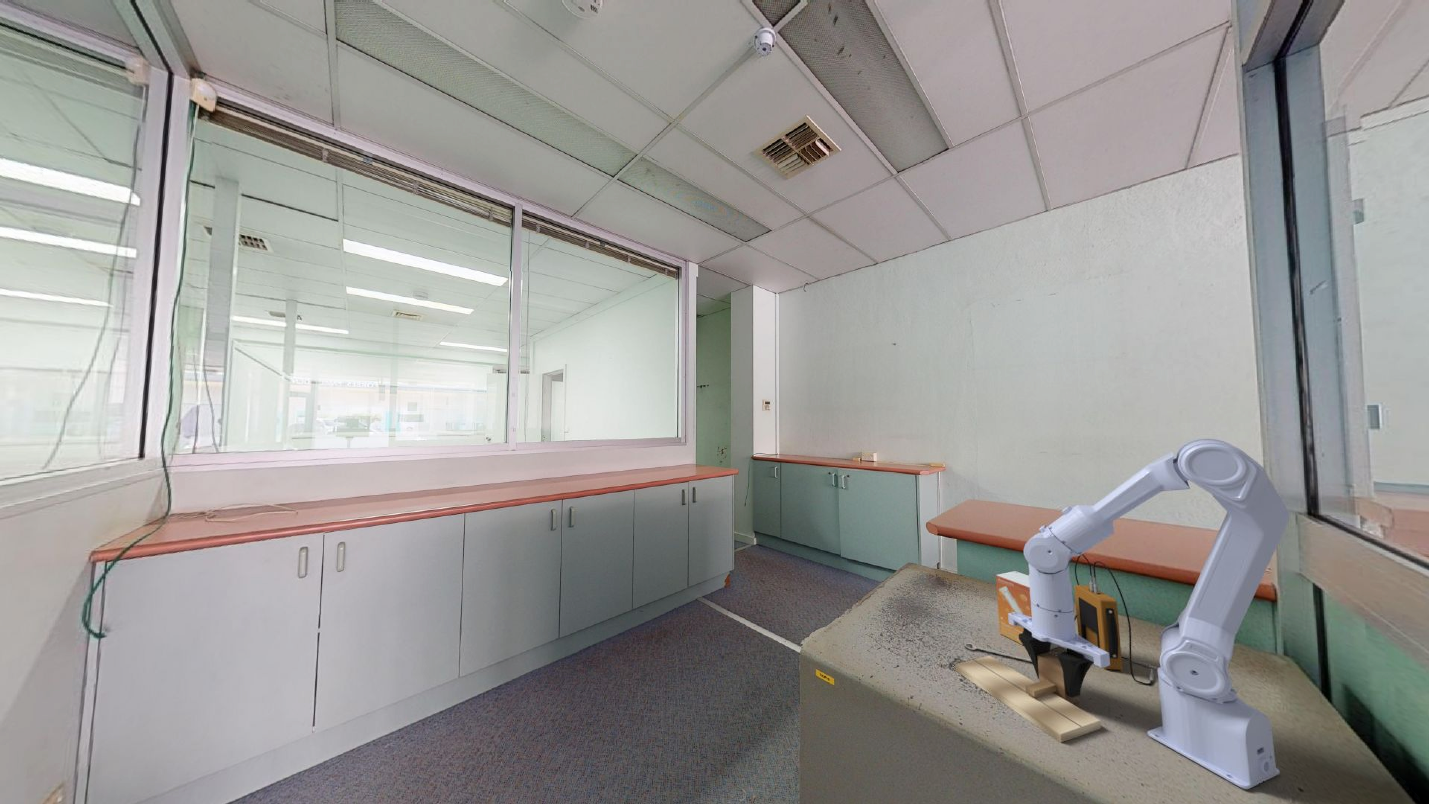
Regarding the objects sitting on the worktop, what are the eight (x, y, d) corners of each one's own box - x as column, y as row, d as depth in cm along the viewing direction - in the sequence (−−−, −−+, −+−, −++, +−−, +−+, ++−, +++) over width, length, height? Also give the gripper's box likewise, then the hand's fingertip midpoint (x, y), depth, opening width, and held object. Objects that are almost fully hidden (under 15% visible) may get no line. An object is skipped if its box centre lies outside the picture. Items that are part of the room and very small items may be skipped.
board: (1100, 728, 60) (1100, 720, 60) (1061, 742, 58) (1060, 733, 58) (989, 661, 78) (989, 655, 78) (955, 670, 75) (955, 664, 75)
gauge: (1078, 702, 66) (1075, 664, 66) (1043, 713, 64) (1040, 674, 64) (1052, 687, 70) (1049, 652, 70) (1018, 697, 68) (1016, 660, 68)
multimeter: (1190, 689, 68) (1178, 571, 69) (1121, 683, 70) (1111, 569, 71) (1121, 643, 83) (1112, 545, 84) (1066, 639, 85) (1058, 544, 86)
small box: (999, 634, 87) (994, 574, 88) (1019, 629, 89) (1015, 570, 90) (1038, 654, 80) (1033, 588, 80) (1060, 648, 82) (1055, 583, 82)
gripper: (994, 591, 74) (999, 666, 74) (1084, 629, 60) (1092, 722, 60) (1021, 586, 76) (1027, 659, 76) (1115, 621, 62) (1123, 711, 62)
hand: (1058, 686), depth 68 cm, fingers closed on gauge, 4 cm apart
